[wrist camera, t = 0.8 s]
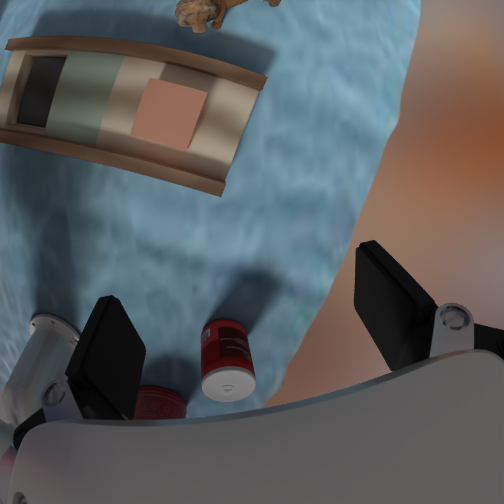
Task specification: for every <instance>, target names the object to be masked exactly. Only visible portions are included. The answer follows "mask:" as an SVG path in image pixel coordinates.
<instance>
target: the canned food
mask: <svg viewBox="0 0 504 504" xmlns="http://www.w3.org/2000/svg"><path fill="white" fill-rule="evenodd" d="M201 383H202V390H203V392H204V393H205V395H207V396H208V397H209V398H211V399H214V400H217V401H223V402H231V401H237V400H240V399H243V398H245V397H247V396H249V395H250V394H251V393H252V392H253V391H254V389H255V387H256V378H255V372H254V367H253V362H252V358H251V353H250V348H249V343H248V338H247V333H246V331H245V329H244V328H243V326H242V325H241V324H240V323H238V322H237V321H235V320H232V319H217V320H214V321H212V322H210V323H209V324H208V325H207V326H206V327H205V328H204V330H203V332H202V334H201Z"/></svg>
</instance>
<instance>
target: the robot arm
mask: <svg viewBox="0 0 504 504" xmlns="http://www.w3.org/2000/svg"><path fill="white" fill-rule="evenodd" d="M355 263H356V264H355V290H354V307H355V310H356V312H357V313H358V315H359V317H360V318H361V320H362V322H363V323H364V325H365V327H366V328H367V330H368V332H369V333H370V335H371V337H372V338H373V340H374V342H375V344H376V345H377V347H378V349H379V351H380V352H381V354H382V356H383V358H384V359H385V361H386V363H387V365H388V366H389V368H390V370H391V371H394V372H391V373H388V374H386V375H383V376H380V377H377V378H374V379H371V380H368V381H365V382H362V383H359V384H356V385H353V386H350V387H347V388H344V389H340V390H337V391H334V392H331V393H327V394H323V395H320V396H316V397H312V398H308V399H304V400H300V401H296V402H292V403H287V404H282V405H277V406H272V407H267V408H262V409H256V410H250V411H244V412H238V413H231V414H223V415H215V416H206V417H196V418H183V419H167V420H133V418H134V413H135V407H136V401H137V396H138V390H139V385H140V379H141V374H142V369H143V364H144V359H145V355H146V348H145V345H144V343H143V341H142V340H141V338H140V336H139V335H138V333H137V331H136V329H135V328H134V326H133V324H132V322H131V321H130V319H129V317H128V315H127V313H126V311H125V310H124V308H123V306H122V304H121V302H120V300H119V299H118V298H115V297H114V296H113V295H110V296H105V297H100V298H99V299H98V301H97V303H96V305H95V307H94V309H93V311H92V313H91V315H90V317H89V319H88V321H87V323H86V325H85V327H84V329H83V332H82V334H81V336H80V335H79V334H78V333H77V331H76V330H75V329H74V328H73V327H72V326H71V325H69V324H68V323H67V322H65V321H64V320H62V319H60V318H59V317H56V316H54V315H50V314H38V315H36V316H35V317H34V318H33V319H32V321H31V322H30V326H29V330H30V335H31V338H30V340H29V341H28V343H27V345H26V347H25V349H24V350H23V352H22V354H21V356H20V358H19V360H18V362H17V364H16V366H15V368H14V370H13V372H12V374H11V376H10V378H9V380H8V382H7V384H6V386H5V389H4V391H3V396H2V403H3V408H4V413H5V416H6V419H7V422H8V424H7V423H5V422H4V421H2V420H0V504H504V330H501V329H496V328H492V327H488V326H484V325H480V324H475V323H474V320H473V316H472V314H471V313H470V311H469V310H468V309H467V308H466V307H464V306H462V305H460V304H457V303H446V304H443V305H441V306H440V307H438V306H437V305H436V304H435V301H434V300H433V299H432V298H431V297H430V296H429V294H428V293H427V292H426V291H425V290H424V289H423V288H422V287H421V286H420V285H419V284H418V283H417V282H416V281H415V279H413V277H412V276H411V275H410V274H409V273H408V272H407V271H406V270H405V269H404V268H403V267H402V266H401V265H400V264H399V263H398V262H397V261H396V260H395V259H394V258H393V257H392V256H391V255H390V254H389V253H388V252H387V251H386V250H385V249H384V248H383V247H382V246H381V245H379V244H378V243H377V242H376V241H375V240H372V241H367V242H363V243H360V245H359V247H358V248H356V262H355ZM67 379H68V380H67Z"/></svg>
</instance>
